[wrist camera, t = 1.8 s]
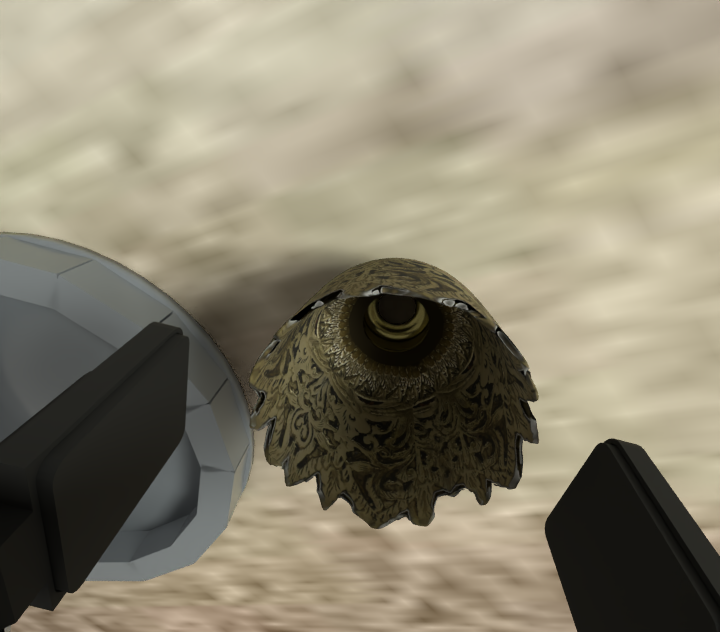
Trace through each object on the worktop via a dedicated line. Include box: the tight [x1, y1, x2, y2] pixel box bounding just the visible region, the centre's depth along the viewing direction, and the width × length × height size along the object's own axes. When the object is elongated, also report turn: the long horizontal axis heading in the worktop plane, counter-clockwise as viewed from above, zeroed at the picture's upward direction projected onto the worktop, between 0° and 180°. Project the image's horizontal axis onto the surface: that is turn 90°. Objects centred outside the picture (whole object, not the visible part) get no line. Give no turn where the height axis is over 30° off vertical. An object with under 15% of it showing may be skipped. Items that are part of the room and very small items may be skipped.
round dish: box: [0, 232, 254, 581], centre depth 21 cm, size 20×20×3 cm
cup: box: [249, 258, 539, 529], centre depth 14 cm, size 8×7×8 cm
